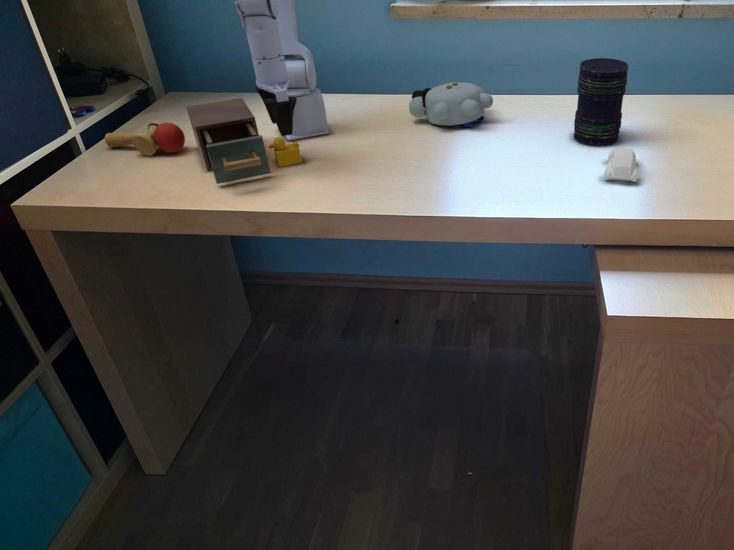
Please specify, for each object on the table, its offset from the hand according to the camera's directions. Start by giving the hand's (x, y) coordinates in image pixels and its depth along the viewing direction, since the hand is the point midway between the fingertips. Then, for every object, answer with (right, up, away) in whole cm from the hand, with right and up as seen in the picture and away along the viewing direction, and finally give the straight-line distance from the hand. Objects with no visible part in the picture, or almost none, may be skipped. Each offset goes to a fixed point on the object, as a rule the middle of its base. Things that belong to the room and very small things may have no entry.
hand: (282, 128), depth 126 cm
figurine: (+33, +10, +23) cm, 41 cm away
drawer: (-8, -9, -1) cm, 12 cm away
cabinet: (-13, -3, +8) cm, 16 cm away
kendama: (-32, -1, +11) cm, 34 cm away
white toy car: (+67, -9, -2) cm, 67 cm away
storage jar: (+65, +2, +12) cm, 66 cm away
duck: (0, -5, +4) cm, 7 cm away
